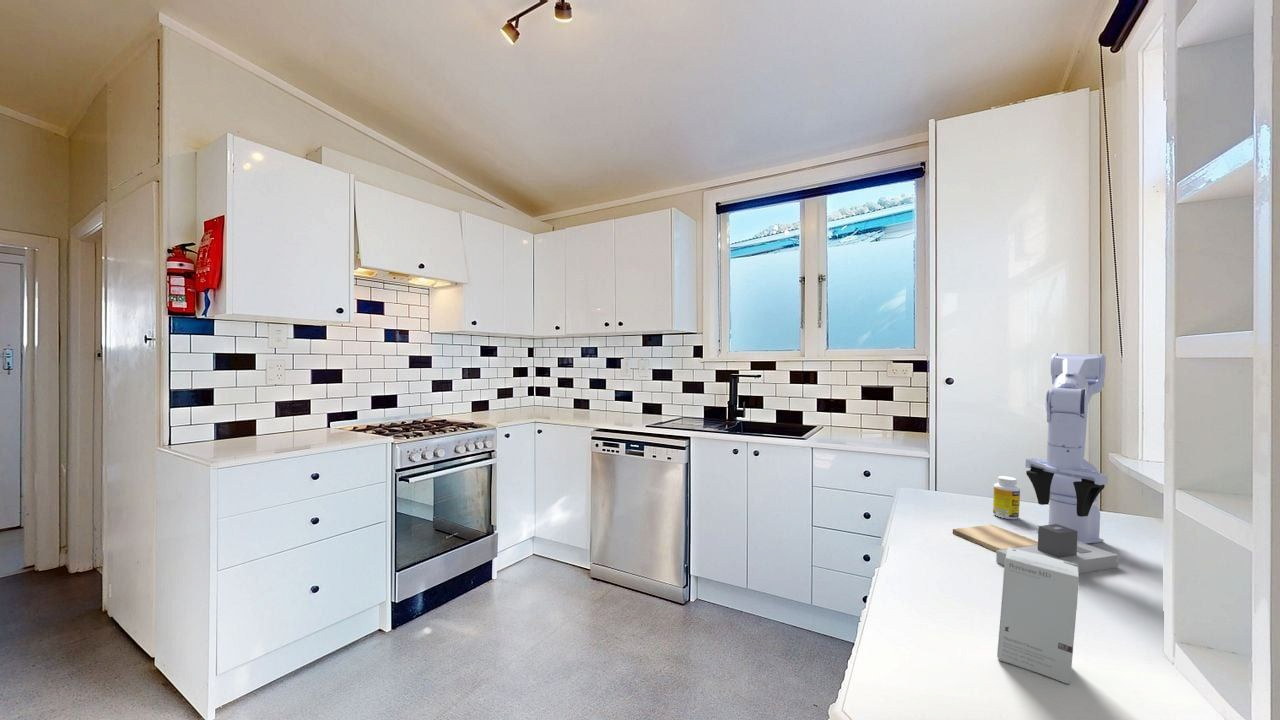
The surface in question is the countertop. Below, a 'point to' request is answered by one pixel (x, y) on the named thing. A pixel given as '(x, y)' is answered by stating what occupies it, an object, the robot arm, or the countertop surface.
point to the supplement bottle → (1006, 498)
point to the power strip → (1075, 557)
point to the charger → (1057, 540)
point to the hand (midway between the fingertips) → (1062, 509)
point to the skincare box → (1038, 613)
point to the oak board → (994, 537)
